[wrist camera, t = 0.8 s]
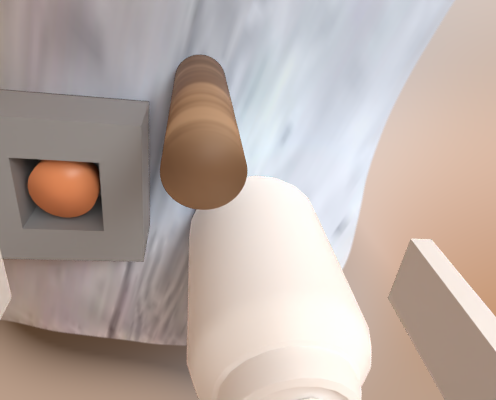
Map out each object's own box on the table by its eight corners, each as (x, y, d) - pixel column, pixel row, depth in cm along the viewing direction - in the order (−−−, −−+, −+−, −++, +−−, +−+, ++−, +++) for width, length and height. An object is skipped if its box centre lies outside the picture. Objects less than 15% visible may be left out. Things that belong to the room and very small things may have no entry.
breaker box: (-13, 88, 31) (-51, 112, 26) (148, 101, 33) (141, 126, 28) (14, 219, 37) (-12, 258, 32) (149, 224, 39) (143, 261, 34)
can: (270, 145, 36) (337, 318, 19) (336, 234, 42) (433, 425, 25) (162, 220, 39) (136, 429, 22) (238, 293, 45) (265, 502, 28)
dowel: (175, 52, 31) (160, 129, 17) (227, 57, 32) (252, 135, 18) (174, 103, 33) (159, 208, 19) (223, 107, 34) (242, 211, 20)
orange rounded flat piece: (31, 148, 31) (22, 158, 29) (99, 152, 32) (94, 162, 30) (40, 204, 33) (32, 216, 32) (103, 206, 34) (99, 218, 33)
